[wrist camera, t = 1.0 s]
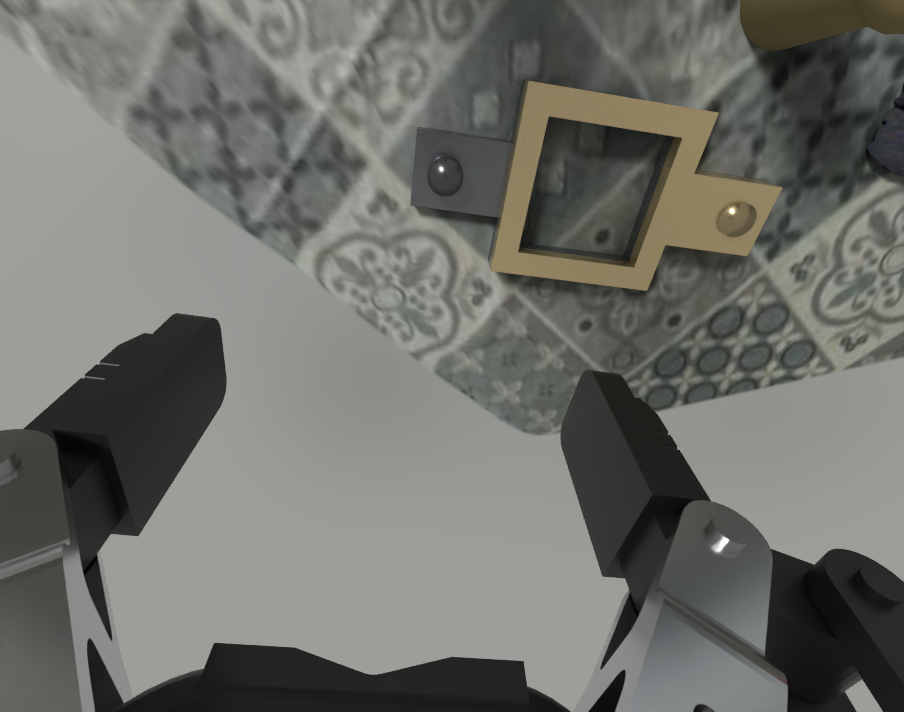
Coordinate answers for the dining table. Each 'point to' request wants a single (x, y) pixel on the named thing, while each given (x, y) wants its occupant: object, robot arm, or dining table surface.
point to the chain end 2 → (672, 205)
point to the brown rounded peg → (815, 20)
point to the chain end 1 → (487, 178)
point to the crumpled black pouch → (890, 140)
